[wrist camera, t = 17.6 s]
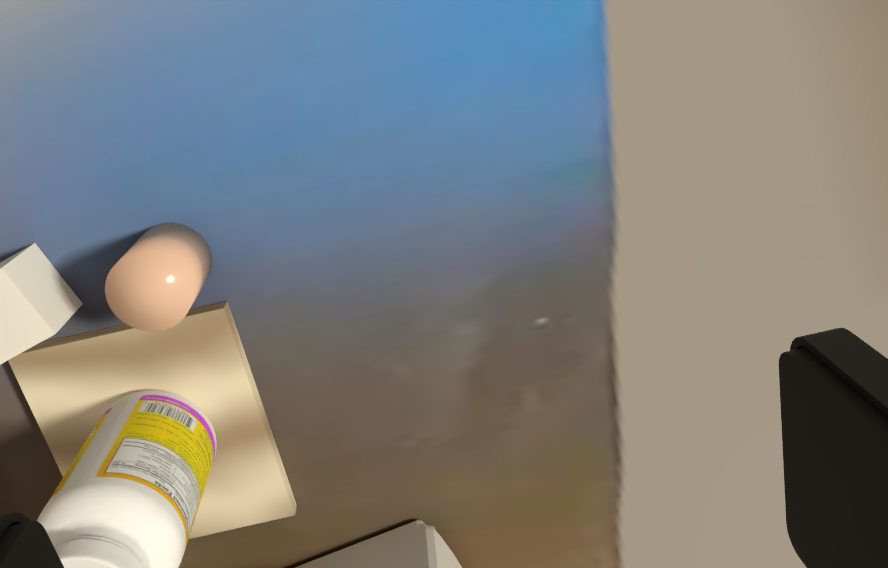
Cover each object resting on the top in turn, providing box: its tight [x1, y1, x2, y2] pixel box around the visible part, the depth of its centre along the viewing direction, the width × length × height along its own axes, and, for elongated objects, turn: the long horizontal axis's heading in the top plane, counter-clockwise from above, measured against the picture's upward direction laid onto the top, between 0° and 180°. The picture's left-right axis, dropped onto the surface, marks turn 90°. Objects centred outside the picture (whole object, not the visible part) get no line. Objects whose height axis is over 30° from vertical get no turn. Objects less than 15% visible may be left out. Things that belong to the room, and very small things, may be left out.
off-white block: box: [0, 243, 83, 364], centre depth 40 cm, size 4×4×4 cm
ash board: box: [8, 301, 297, 539], centre depth 45 cm, size 14×12×1 cm
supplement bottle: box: [37, 390, 217, 568], centre depth 38 cm, size 7×7×13 cm
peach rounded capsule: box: [105, 223, 212, 332], centre depth 39 cm, size 4×4×5 cm
